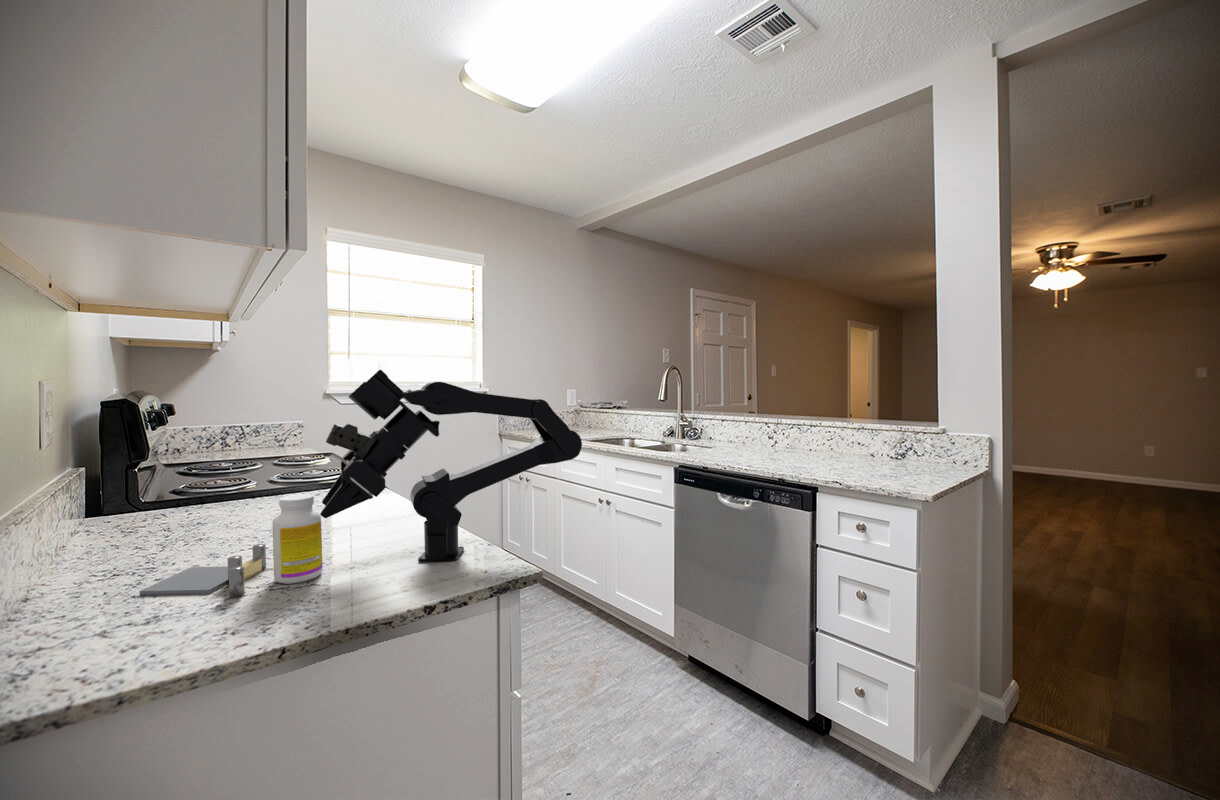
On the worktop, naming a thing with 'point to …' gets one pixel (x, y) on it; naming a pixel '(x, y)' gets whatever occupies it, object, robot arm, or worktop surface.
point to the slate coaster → (191, 582)
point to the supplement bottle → (297, 540)
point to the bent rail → (245, 570)
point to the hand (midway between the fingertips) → (323, 510)
